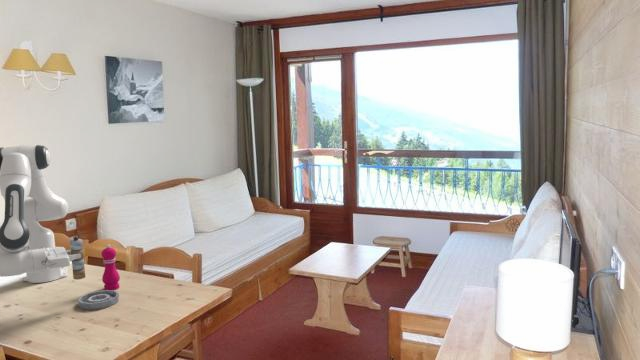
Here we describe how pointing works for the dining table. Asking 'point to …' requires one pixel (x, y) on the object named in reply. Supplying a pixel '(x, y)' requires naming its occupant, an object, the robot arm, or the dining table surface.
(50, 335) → the dining table surface
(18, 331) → the dining table surface
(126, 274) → the dining table surface
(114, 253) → the pepper mill
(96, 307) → the tray
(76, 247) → the bead column
